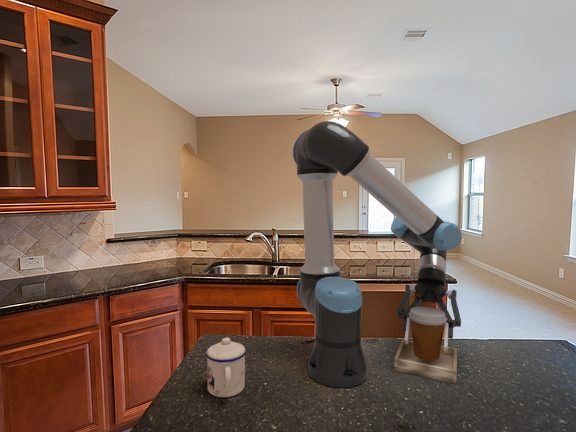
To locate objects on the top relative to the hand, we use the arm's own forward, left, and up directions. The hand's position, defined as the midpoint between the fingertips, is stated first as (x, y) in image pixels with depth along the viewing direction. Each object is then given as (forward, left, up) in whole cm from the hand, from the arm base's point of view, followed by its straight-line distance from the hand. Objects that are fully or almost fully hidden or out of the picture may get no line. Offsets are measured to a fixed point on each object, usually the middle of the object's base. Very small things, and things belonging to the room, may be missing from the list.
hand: (425, 345), depth 89 cm
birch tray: (0, +3, -6) cm, 7 cm away
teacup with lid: (-40, -32, -7) cm, 51 cm away
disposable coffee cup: (0, +3, -4) cm, 5 cm away
